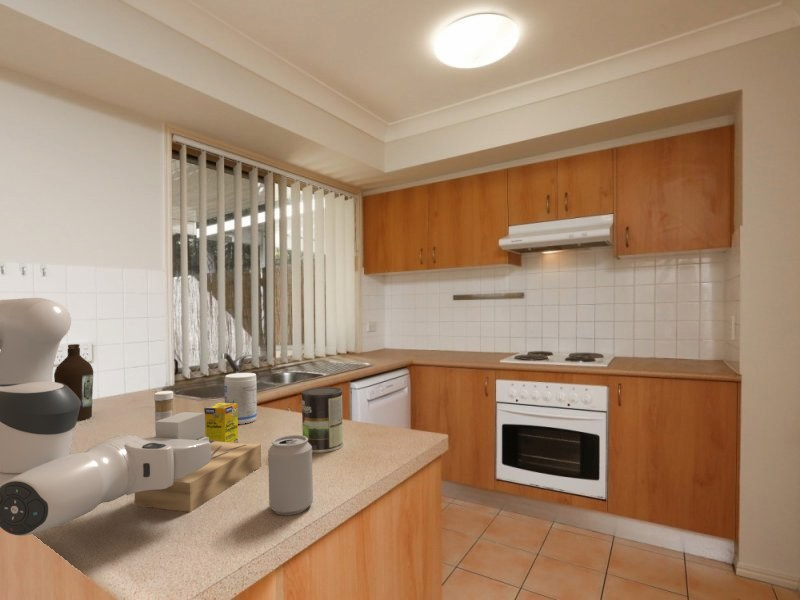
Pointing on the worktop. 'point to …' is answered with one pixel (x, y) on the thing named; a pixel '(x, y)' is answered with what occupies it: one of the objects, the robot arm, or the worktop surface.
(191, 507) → the plank
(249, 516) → the worktop surface
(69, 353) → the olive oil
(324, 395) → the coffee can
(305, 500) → the can
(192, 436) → the block
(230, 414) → the supplement box
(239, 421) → the supplement tub
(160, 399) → the sprinkles bottle
